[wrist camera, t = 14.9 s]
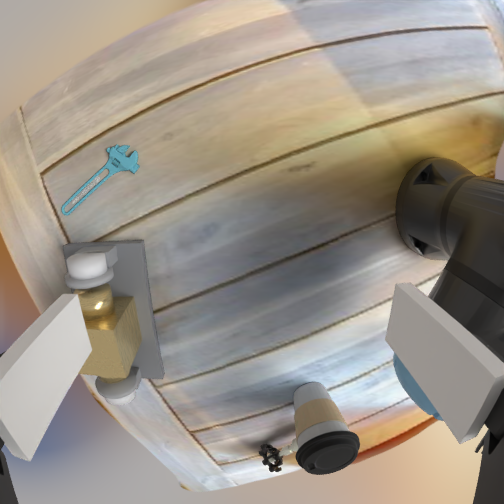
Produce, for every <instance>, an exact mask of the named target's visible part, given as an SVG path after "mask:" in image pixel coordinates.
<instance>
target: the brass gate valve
mask: <svg viewBox="0 0 504 504" xmlns="http://www.w3.org/2000/svg"><path fill="white" fill-rule="evenodd" d="M73 294H78V298H79V302H80V307H81V311H82V315H83V319H84V322H85V326H86V330H87V333H88V337H89V340H90V344H91V347H92V351H91V353H90V354H89V356H88V358H87V359H86V361H85V363H84V364H83V366H82V368H81V369H80V371H79V373H78V374H87V375H96V376H98V379H99V380H100V381H102V382H104V383H108V384H113V383H118V382H121V381H123V380H125V379H126V378H127V377H128V376H129V374H130V368H131V365H132V363H133V361H134V358H135V356H136V354H137V351H138V349H139V346H140V344H141V342H142V336H141V331H140V326H139V321H138V316H137V310H136V305H135V299H134V297H112V292H111V287H110V285H109V284H107V283H105V284H102V285H100V286H96V287H92V288H87V289H76V290H75V291H74V293H73Z"/></svg>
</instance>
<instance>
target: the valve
mask: <svg viewBox="0 0 504 504" xmlns="http://www.w3.org/2000/svg"><path fill="white" fill-rule="evenodd" d="M266 446H267V445H266V444H263V445H261V449H262V450H261V451H259V454H260V456H263V458H264V460H263V461H262V463H263V464H264V465H268V466H269V471H270V472H273V471H275V472H279V471H281V467H280V468H278V466H280V465H282V464H283V463H282V462H283V460H282V458H283V455H289V454H291V453H293V451H298V445H297V441H296V438H295V439H293V440H292V444H291V446H290V445H289V446H286V447H284V448H282V451H279V450H277V449H276V448H273V446H272V445H269V446H267V447H266ZM273 451H274V452H273ZM267 452H269V453H270V454H269V455H268V457H267ZM278 460H279V461H278ZM273 461H274V463H275V464H274V465H273V464H272V463H271V462H273Z"/></svg>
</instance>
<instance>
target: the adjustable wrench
mask: <svg viewBox="0 0 504 504" xmlns="http://www.w3.org/2000/svg"><path fill="white" fill-rule="evenodd" d="M129 147H130V146H128V145H124V146H121V147H120V146H119V145H116V146H115V147H112V148H111V149H110V148H108V149H107V150H106V151H107V152H108V153H109V160H108V162H107V163H106V165H105V166H104V167H103V168H101V169H100V170H99V171H98V172H97V173H96V174H95V175H94V176H93V177H92V178H90V179H89V180H88V181H87V182H86V183H85V184H84V185H83V186H82V187H81V188H80V189H79V190H78V191H77V192H76V193H75V194H74V195H73V196H72V197H71V198H70V199H69V200H68V201H67V202H66V203H65V204H64V205H63V206H62V213H63V214H64V215H69V214H70V213H71V212H72V211H73V210H74V209H75V208H76V207H77V206H79V205H80V204H81V203H82V202H83V201H84V200H85V199H86V198H87V197H88V196H89V195H90V194H91V193H92V192H93V191H95V190H96V189H97V188H98V187H99V186H100V185H101V184H102V183H103V182H104V181H106V180H107V179H108V178H109V177H110V176H111V175H113V174H115V173H117V172H120V171H127V170H130V171H131V172H132V173H134V174H135V172H136V171H137V169H138V168H139V167H140V166H139V165H138V164H137V160H138V154H137V151H134V152H133V153H132V155H131V156H130V158H129V157H126V155H125V152H126V151H127V149H128V148H129ZM112 162H113V164H115V166H114V165H113V164H112ZM104 169H108V170H109V174H108V175H107V176H106V177H105V178H104V179H103V180H102V181H100V182H99V183H97V182H98V181H99V180H100V178H99V176H98V175H99V174H100V173H101V172H102V171H103V170H104ZM97 177H98V179H99V180H97V179H96V178H97ZM94 178H95V179H96V180H95V179H94ZM93 179H94V181H96V184H97V185H96V186H95V187H94V186H93V187H94V188H93V189H92V190H91V191H89V192H88V193H87V194H86V195H85V196H84V197H83V198H82V199H81V200H80V201H79V202H78V203H77V204H76V205H75V206H74V207H73V208H72V209H71V210H70V211H69V212H65V211H64V208H65V206H66V205H67V204H68V203H69V202H70V201H71V200H72V199H73V198H74V197H76V196H77V195H78V194H79V193H80V192H81V191H82V190H83V189H84V188H85V187H86V186H87V185H88V184H89V183H90V182H91V181H92V180H93ZM94 183H95V182H94ZM89 185H94V184H93V183H90V184H89ZM89 187H91V186H89ZM86 189H88V187H87V188H86ZM86 189H85V190H84V191H83V192H84V193H86V192H87V191H88V190H89V189H90V188H89V189H88V190H87V191H86ZM85 191H86V192H85ZM83 192H82V193H81V194H82V195H83ZM81 194H80V195H81ZM80 195H79V196H80ZM79 196H77V197H79ZM79 198H80V197H79ZM76 199H77V200H78V198H75V199H74V200H75V202H76ZM74 200H73V201H74ZM72 204H74V203H73V202H72Z"/></svg>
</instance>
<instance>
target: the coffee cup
mask: <svg viewBox="0 0 504 504" xmlns="http://www.w3.org/2000/svg"><path fill="white" fill-rule="evenodd" d="M293 399H294V410H295V415H294V419H295V430H296V441H297V445H298V451H297V453H296V460H297V462H298V464H299V465H300V466H301V467H302V468H304V469H305V470H306V471H307V472H308V473H311V474H316V475H322V474H329V473H333V472H336V471H339V470H341V469H343V468H345V467H347V466H348V465H350V464H351V463H352V462H353V461H354V460H355V459H356V457H357V455H358V450H359V447H360V442H359V437H358V436H357V435H356V434H355V433H353V432H350V431H349V428H348V426H347V424H346V422H345V420H344V418H343V417H342V415H341V413H340V411H339V409H338V408H337V406H336V404H335V403H334V402H333V401H332V399H331V397H330V395H329V394H328V392H327V390H326V388H325V387H324V386H323V385H322V384H321V383H317V382H312V383H307V384H304V385H302V386H300V387H299V388H298V389H297V390H296V391H295V392H294V395H293Z"/></svg>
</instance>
